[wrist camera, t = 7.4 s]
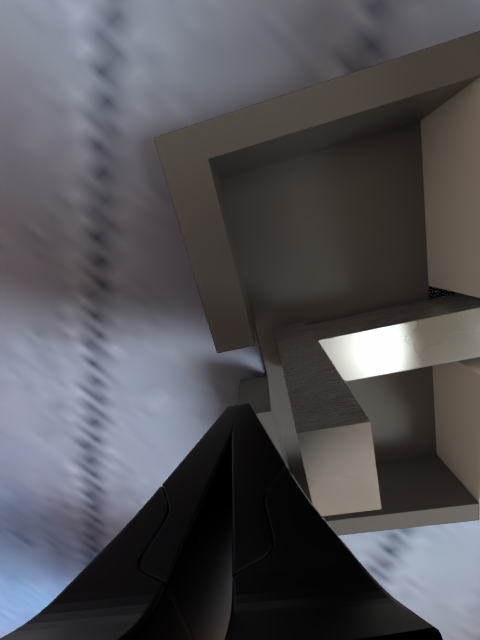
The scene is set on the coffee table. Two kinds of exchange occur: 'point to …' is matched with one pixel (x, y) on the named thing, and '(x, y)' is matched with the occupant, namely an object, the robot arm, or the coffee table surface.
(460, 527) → the coffee table surface
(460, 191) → the track
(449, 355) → the slider
